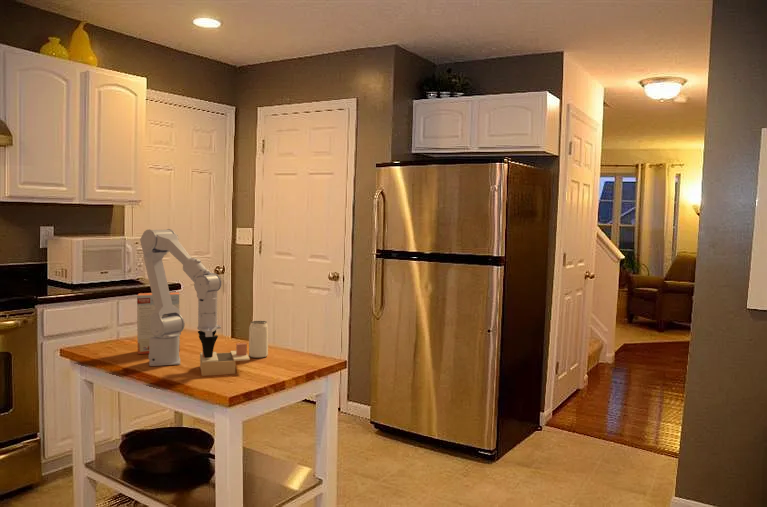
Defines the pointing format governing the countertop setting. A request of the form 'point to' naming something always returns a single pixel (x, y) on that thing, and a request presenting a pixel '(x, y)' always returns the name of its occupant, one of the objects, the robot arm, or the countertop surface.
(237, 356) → the right flap
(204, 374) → the carton
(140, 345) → the cracker box
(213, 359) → the left flap
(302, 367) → the countertop surface
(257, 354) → the can
